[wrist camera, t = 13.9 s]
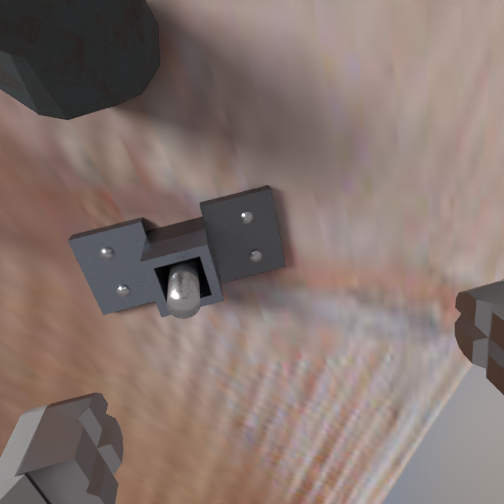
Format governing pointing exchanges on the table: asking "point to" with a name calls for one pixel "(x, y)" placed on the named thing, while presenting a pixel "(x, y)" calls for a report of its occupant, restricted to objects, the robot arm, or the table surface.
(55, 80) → the bottle
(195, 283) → the pin
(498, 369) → the robot arm
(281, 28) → the table surface
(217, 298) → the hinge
